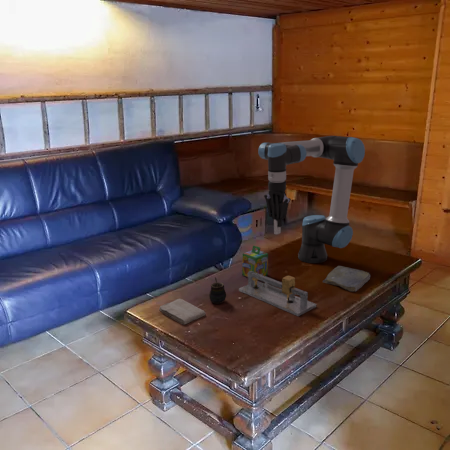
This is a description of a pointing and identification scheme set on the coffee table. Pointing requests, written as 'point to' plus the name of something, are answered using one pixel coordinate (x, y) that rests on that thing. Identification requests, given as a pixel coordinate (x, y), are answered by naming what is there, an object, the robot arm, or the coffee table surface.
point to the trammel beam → (277, 294)
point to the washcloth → (181, 311)
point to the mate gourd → (217, 293)
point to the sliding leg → (287, 285)
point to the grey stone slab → (347, 278)
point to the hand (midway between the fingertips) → (277, 233)
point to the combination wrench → (278, 290)
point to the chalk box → (255, 262)
